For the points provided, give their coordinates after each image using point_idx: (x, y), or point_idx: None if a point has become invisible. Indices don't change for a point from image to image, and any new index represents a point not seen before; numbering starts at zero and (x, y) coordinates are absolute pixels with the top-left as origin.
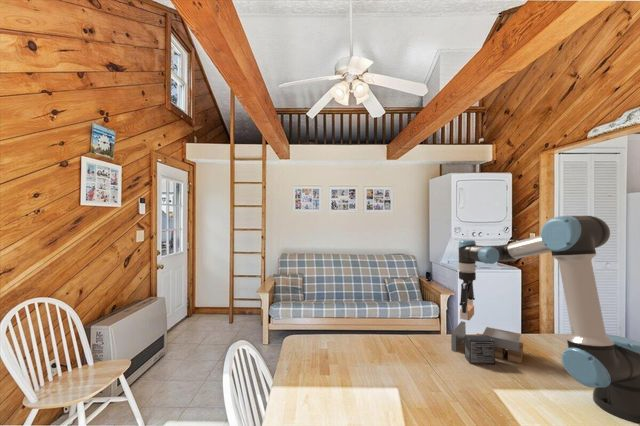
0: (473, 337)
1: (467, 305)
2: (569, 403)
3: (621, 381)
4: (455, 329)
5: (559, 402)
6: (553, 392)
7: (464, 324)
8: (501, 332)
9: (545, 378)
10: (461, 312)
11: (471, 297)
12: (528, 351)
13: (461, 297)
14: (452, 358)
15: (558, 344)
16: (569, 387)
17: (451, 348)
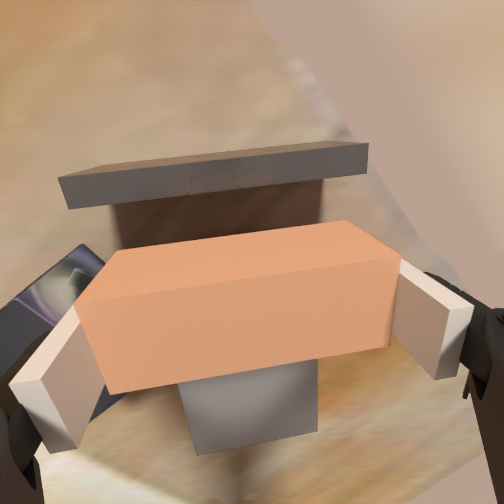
0: (14, 354)
1: (339, 299)
2: (60, 494)
3: None
4: (163, 171)
5: (43, 485)
6: (85, 468)
7: (332, 176)
8: (277, 384)
9: (153, 442)
10: (72, 307)
11: (480, 404)
12: (323, 374)
13: None
14: (15, 205)
15: (432, 407)
16: (149, 478)
17: (99, 166)
